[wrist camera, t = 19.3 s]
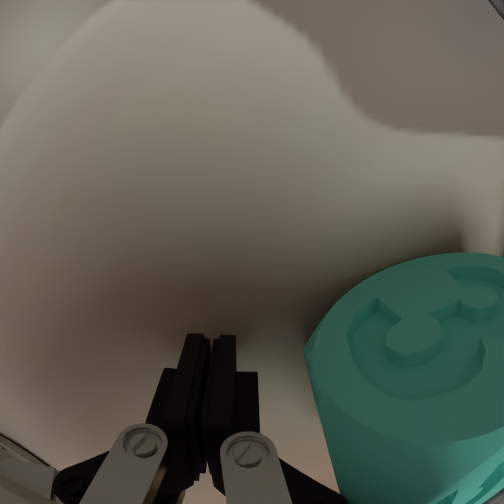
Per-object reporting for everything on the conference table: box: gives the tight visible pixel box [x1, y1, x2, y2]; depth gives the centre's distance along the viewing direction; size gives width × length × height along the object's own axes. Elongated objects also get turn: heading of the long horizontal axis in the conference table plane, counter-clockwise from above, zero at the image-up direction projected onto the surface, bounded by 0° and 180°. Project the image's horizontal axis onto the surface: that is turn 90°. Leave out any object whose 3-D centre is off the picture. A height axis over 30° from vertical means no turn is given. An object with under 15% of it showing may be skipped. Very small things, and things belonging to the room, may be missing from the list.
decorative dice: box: [303, 253, 504, 504], centre depth 8 cm, size 8×8×8 cm
